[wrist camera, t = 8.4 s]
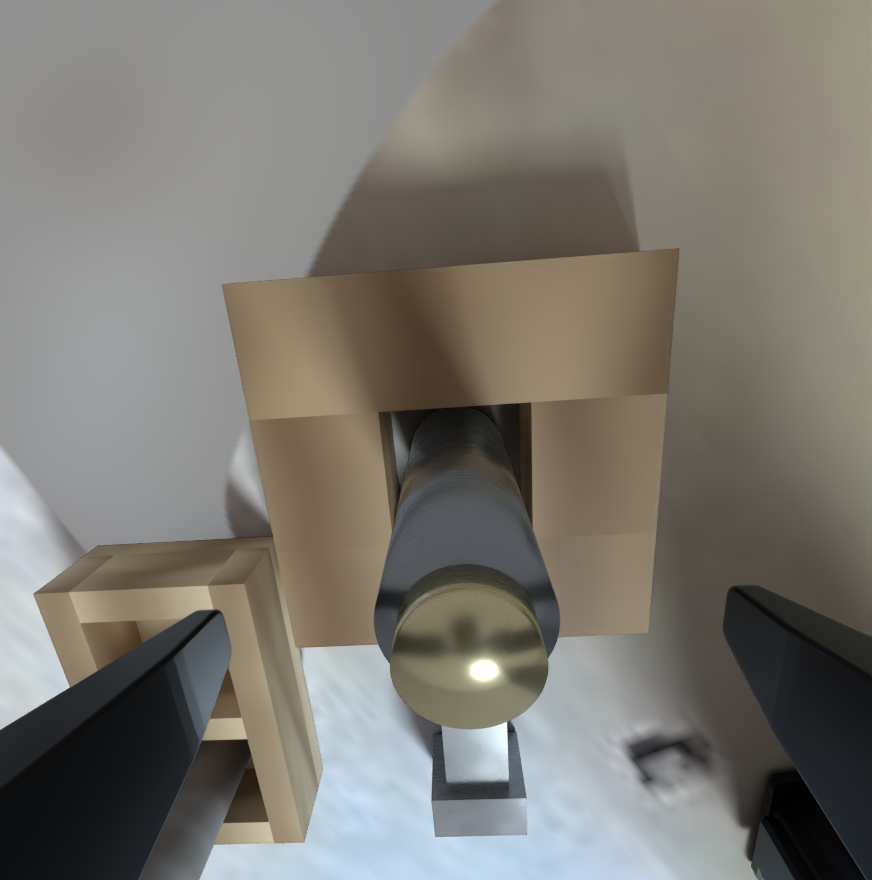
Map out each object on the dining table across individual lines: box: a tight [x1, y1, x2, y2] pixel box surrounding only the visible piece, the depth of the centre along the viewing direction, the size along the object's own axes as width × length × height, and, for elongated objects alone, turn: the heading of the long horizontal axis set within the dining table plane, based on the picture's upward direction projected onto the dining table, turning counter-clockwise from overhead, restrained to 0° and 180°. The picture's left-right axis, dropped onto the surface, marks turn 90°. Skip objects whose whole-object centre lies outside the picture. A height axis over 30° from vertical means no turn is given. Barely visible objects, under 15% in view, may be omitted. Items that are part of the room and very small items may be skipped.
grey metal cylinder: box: [374, 407, 560, 729], centre depth 12 cm, size 3×3×10 cm
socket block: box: [222, 248, 679, 648], centre depth 16 cm, size 12×12×2 cm
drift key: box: [432, 722, 527, 837], centre depth 18 cm, size 4×12×3 cm, turn 4°
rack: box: [33, 536, 323, 880], centre depth 17 cm, size 7×12×7 cm, turn 4°
